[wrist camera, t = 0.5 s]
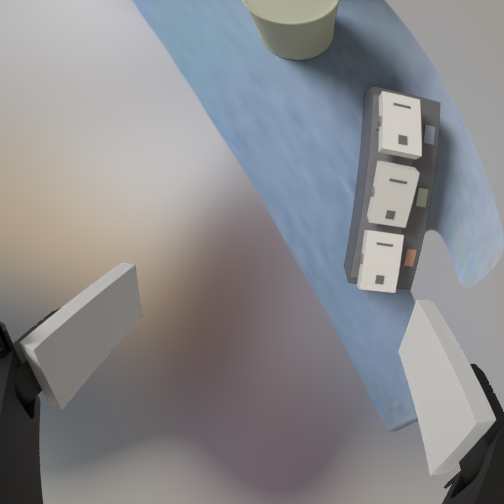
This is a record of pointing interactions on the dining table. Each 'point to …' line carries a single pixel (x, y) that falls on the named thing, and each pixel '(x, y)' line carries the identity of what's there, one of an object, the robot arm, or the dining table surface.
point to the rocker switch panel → (366, 179)
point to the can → (294, 25)
